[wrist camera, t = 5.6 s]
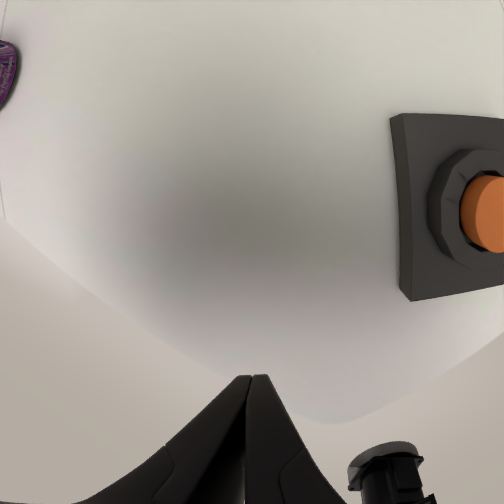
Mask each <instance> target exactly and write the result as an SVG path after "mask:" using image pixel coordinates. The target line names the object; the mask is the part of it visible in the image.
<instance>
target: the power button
mask: <svg viewBox="0 0 504 504" xmlns="http://www.w3.org/2000/svg"><path fill="white" fill-rule="evenodd" d="M460 219H461V224H462V227H463V230H464V232H465V234H466V235H467V237H468V238H469V239H470V240H471V241H472V242H474V243H476V244H477V245H479V246H481V247H483V248H485V249H487V250H489V251H491V252H494V253H502V252H504V177H497V176H490V175H483V176H479V177H477V178H476V179H474V180H473V181H472V182H471V183H470V184H469V185H468V186H467V188H466V190H465V192H464V194H463V197H462V200H461V205H460Z"/></svg>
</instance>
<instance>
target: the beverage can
mask: <svg viewBox="0 0 504 504" xmlns="http://www.w3.org/2000/svg"><path fill="white" fill-rule="evenodd" d="M15 69H16V51H15V48H14V46H13V45H12V44H11V43H9V42H5V41H2V40H0V105H1V104H2V102H3V101H4V99H5V97H6V95H7V93H8V91H9V89H10V87H11V84H12V81H13V78H14V74H15Z"/></svg>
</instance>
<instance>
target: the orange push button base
mask: <svg viewBox="0 0 504 504" xmlns="http://www.w3.org/2000/svg"><path fill="white" fill-rule="evenodd" d="M390 124H391V131H392V139H393V147H394V156H395V165H396V176H397V188H398V204H399V225H400V290H401V291H402V292H403V293H404V294H405V296H406V297H407V298H408V299H409V300H410V302H413V301H419V300H425V299H431V298H437V297H442V296H448V295H453V294H459V293H464V292H469V291H474V290H479V289H484V288H489V287H494V286H498V285H503V284H504V252H502V253H494V252H491V251H489V250H487V249H485V248H483V247H481V246H479V245H477V244H476V243H474V242H472V241H471V240H470V239H469V238H468V237H467V235H466V234H465V232H464V230H463V227H462V224H461V219H460V205H461V200H462V197H463V194H464V192H465V190H466V188H467V186H468V185H469V184H470V183H471V182H472V181H473V180H474V179H476V178H477V177H479V176H483V175H490V176H497V177H504V119H499V118H489V117H478V116H465V115H449V114H418V113H402V114H399V115H397V116H394V117H392V118H390Z"/></svg>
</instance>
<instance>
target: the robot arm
mask: <svg viewBox="0 0 504 504" xmlns="http://www.w3.org/2000/svg"><path fill="white" fill-rule="evenodd" d="M423 461H424V458H423V456H374V457H372V458H371V459H370V461H369V462H368V463H367V464H366V466H365V467H364V468H363V469H362V470H361V472H360V473H359V474H358V475H357V476H356V478H355V479H354V480H353V481H352V482H351V483H350V485H349V486H348V490H349V491H361V497H362V504H437V503H436V500H435V496H434V494H431V495H429V496H428V497H426V498H424V495H423V492H422V488H421V487H422V482H421V479H420V476H419V473H418V469H417V468H418V467H419V465H420V464H421V463H422V462H423ZM244 500H245V504H347V503H345V501H344V500H343V499H342V498H341V496H339V494H338V493H337V492H336V491H335V489H333V487H332V486H331V485H330V484H329V482H328V481H327V479H326V478H325V477H324V476H323V474H322V473H321V472H320V470H319V468H318V467H317V465H316V464H315V462H314V461H313V459H312V457H311V455H310V453H309V452H308V450H307V448H306V447H305V445H304V443H303V441H302V439H301V437H300V435H299V433H298V432H297V430H296V428H295V426H294V424H293V422H292V420H291V418H290V417H289V415H288V413H287V411H286V409H285V407H284V405H283V403H282V401H281V399H280V397H279V395H278V394H277V392H276V390H275V388H274V386H273V384H272V382H271V380H270V378H269V376H268V375H267V374H259V375H254V376H253V377H252V376H251V375H239V376H237V377H236V378H235V379H234V380H233V381H232V382H231V383H230V384H229V385H228V386H227V387H226V388H225V389H224V390H223V391H222V392H221V393H220V394H219V395H217V396H216V398H215V399H213V400H212V401H211V402H210V403H209V404H208V405H207V406H206V407H205V408H204V409H203V410H202V411H201V412H200V413H199V414H198V415H197V416H196V417H195V418H193V419H192V420H191V422H189V423H188V424H187V425H186V426H185V427H184V428H183V429H182V430H181V431H179V432H178V433H177V434H176V435H175V436H174V437H173V438H172V439H171V440H170V441H168V442H167V443H166V445H165V446H163V447H161V448H160V449H159V450H158V451H157V452H156V453H155V454H154V455H152V456H151V457H150V458H149V459H147V460H146V461H145V462H144V463H142V464H141V465H140V466H138V467H137V468H135V469H134V470H133V471H131V472H130V473H128V474H127V475H126V476H124V477H122V478H121V479H119V480H118V481H116V482H115V483H113V484H111V485H110V486H108V487H107V488H105V489H103V490H102V491H100V492H98V493H97V494H96V495H93V496H92V497H90V498H88V499H86V500H83V501H81V502H77V503H73V504H244ZM0 504H25V503H11V502H2V501H0Z"/></svg>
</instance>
